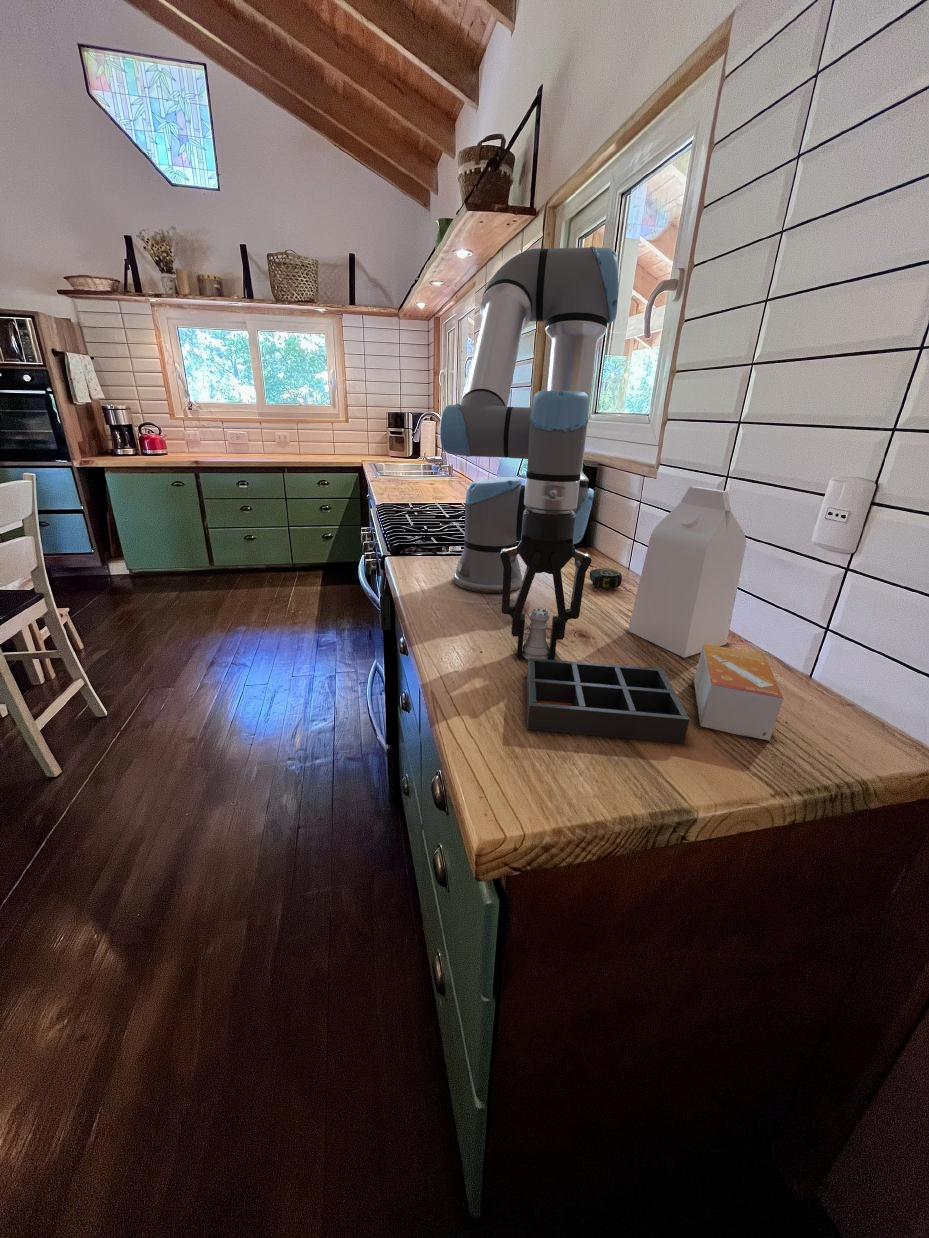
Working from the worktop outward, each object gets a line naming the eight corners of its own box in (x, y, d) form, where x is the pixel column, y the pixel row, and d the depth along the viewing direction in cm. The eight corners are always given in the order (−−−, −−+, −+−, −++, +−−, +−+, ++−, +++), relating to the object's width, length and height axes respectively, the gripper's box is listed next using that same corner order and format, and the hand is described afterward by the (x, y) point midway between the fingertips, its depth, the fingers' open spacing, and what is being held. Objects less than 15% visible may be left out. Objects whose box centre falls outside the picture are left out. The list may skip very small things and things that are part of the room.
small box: (764, 652, 70) (785, 698, 58) (752, 691, 72) (770, 742, 61) (701, 642, 72) (710, 684, 61) (692, 680, 75) (699, 727, 63)
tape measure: (587, 581, 117) (589, 566, 116) (617, 583, 117) (619, 568, 115) (591, 591, 111) (593, 575, 110) (622, 593, 110) (625, 577, 109)
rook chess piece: (548, 664, 78) (553, 617, 75) (520, 661, 78) (524, 614, 75) (549, 652, 82) (554, 607, 79) (522, 649, 82) (526, 604, 79)
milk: (726, 644, 87) (766, 492, 77) (684, 657, 81) (720, 496, 71) (669, 620, 96) (698, 482, 86) (627, 630, 91) (653, 485, 81)
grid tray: (526, 678, 73) (528, 657, 72) (657, 689, 72) (662, 668, 70) (527, 729, 61) (529, 705, 60) (684, 744, 60) (690, 719, 58)
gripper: (487, 510, 68) (479, 661, 77) (616, 517, 67) (593, 670, 76) (490, 502, 75) (482, 641, 84) (608, 508, 74) (587, 649, 83)
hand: (535, 655), depth 80 cm, fingers closed on rook chess piece, 4 cm apart
